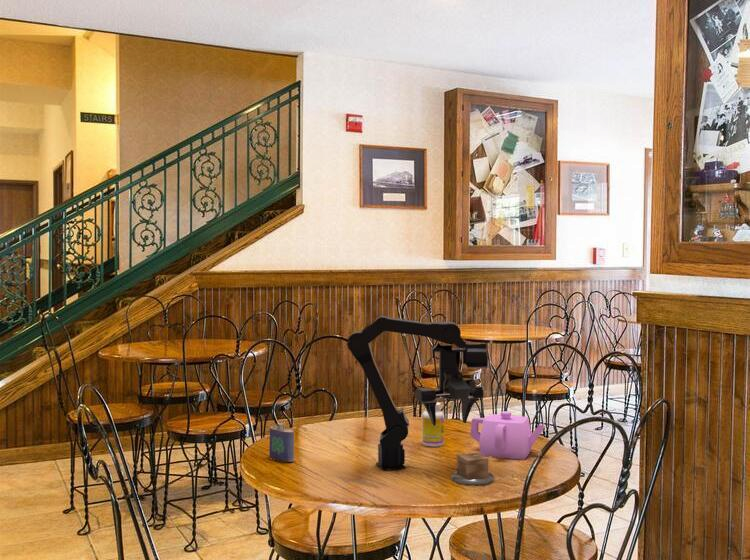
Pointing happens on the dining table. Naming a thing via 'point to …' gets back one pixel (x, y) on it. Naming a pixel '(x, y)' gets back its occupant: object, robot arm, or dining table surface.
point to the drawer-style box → (472, 466)
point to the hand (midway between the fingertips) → (449, 424)
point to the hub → (476, 482)
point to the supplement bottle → (433, 428)
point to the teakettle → (505, 435)
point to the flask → (281, 443)
